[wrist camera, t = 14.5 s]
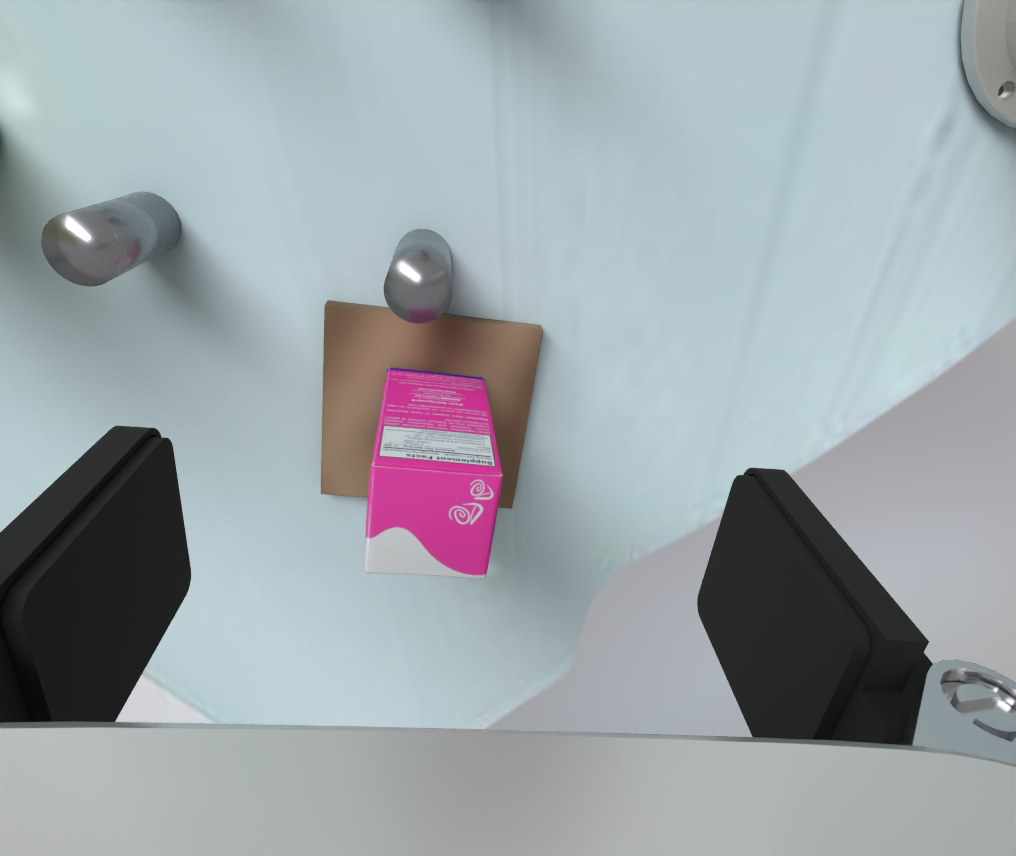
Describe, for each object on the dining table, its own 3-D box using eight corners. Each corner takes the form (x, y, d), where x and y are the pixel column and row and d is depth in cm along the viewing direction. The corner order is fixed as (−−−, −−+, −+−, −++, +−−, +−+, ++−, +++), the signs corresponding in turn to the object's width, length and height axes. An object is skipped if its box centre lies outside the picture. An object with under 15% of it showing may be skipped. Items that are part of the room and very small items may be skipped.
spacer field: (493, -148, 28) (506, -219, 22) (448, 288, 36) (447, 327, 30) (66, -240, 26) (-58, -350, 19) (122, 248, 34) (47, 281, 28)
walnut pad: (540, 325, 38) (542, 330, 37) (510, 500, 43) (511, 508, 42) (327, 300, 36) (324, 305, 35) (323, 485, 41) (320, 493, 40)
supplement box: (476, 462, 40) (486, 585, 30) (379, 452, 39) (355, 575, 29) (489, 375, 38) (505, 477, 27) (386, 363, 37) (362, 463, 27)
